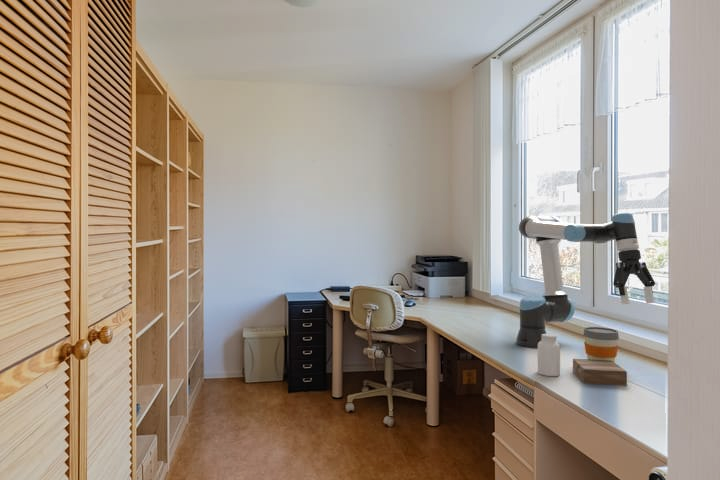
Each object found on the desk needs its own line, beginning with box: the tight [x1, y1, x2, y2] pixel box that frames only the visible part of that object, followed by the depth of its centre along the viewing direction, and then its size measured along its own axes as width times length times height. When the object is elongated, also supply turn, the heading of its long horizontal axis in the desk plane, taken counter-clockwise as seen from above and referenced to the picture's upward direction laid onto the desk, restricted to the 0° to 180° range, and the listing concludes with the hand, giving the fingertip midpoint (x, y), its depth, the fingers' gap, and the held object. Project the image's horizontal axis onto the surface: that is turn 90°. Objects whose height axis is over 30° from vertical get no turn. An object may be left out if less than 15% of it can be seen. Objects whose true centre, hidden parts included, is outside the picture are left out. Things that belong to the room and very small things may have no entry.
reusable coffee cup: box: [583, 326, 620, 363], centre depth 175 cm, size 13×13×15 cm
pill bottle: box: [537, 333, 561, 377], centre depth 165 cm, size 8×8×15 cm
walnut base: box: [572, 358, 628, 386], centre depth 160 cm, size 14×14×5 cm
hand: (638, 303), depth 168 cm, fingers open, 13 cm apart
